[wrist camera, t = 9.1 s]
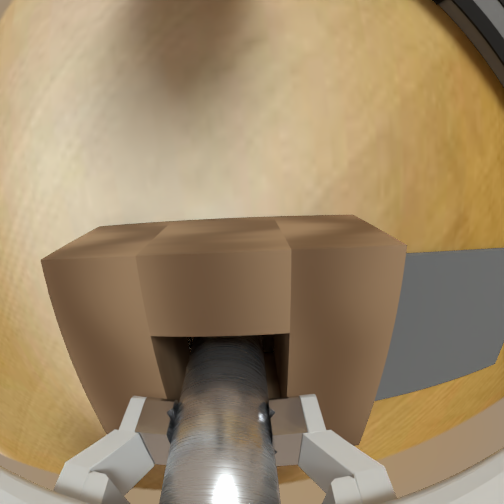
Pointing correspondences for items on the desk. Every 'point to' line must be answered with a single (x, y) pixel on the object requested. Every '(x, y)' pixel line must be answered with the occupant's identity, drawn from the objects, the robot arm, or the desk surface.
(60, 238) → the desk surface
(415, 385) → the mat
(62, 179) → the desk surface
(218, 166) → the desk surface
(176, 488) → the peg
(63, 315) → the hole block
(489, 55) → the vhs tape
